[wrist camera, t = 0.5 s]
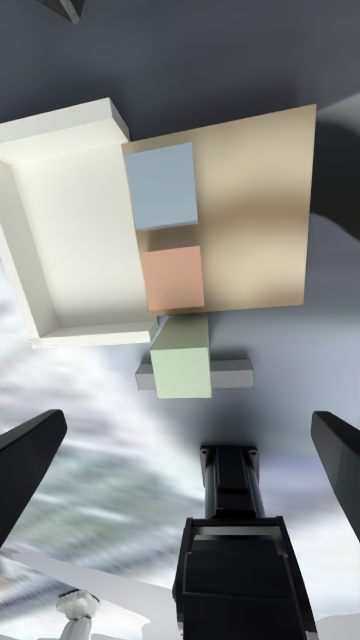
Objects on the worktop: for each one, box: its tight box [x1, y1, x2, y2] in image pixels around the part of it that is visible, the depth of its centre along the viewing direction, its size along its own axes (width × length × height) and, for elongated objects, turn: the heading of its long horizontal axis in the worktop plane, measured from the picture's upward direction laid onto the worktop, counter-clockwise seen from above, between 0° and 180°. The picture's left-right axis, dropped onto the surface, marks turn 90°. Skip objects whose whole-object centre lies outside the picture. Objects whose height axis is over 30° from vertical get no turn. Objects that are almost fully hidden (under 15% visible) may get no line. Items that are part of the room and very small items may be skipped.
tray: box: [0, 97, 159, 349], centre depth 17 cm, size 16×11×3 cm
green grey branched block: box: [135, 312, 254, 398], centre depth 17 cm, size 11×7×8 cm, turn 96°
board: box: [121, 104, 316, 316], centre depth 16 cm, size 12×12×2 cm
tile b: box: [124, 142, 199, 232], centre depth 13 cm, size 4×4×2 cm
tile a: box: [140, 246, 205, 311], centre depth 15 cm, size 4×4×2 cm
